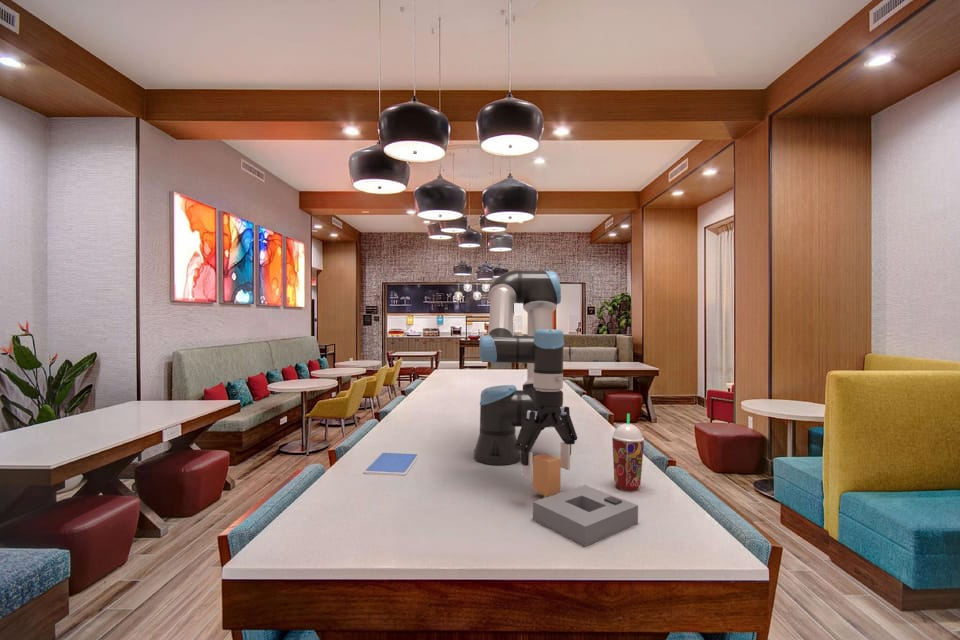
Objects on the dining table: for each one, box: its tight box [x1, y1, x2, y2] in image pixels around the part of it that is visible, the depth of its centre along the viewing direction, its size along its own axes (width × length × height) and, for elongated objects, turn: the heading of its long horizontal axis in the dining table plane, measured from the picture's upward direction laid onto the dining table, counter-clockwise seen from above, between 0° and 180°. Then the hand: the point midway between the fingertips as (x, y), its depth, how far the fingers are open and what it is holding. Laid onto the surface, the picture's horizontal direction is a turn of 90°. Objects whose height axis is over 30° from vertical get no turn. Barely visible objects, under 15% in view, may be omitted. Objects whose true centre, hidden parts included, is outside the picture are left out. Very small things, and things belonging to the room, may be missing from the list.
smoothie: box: [611, 413, 645, 492], centre depth 122 cm, size 8×8×20 cm
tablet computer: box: [363, 452, 420, 476], centre depth 138 cm, size 19×13×1 cm, turn 176°
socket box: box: [532, 484, 639, 548], centre depth 101 cm, size 15×18×4 cm
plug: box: [532, 453, 562, 498], centre depth 115 cm, size 5×4×10 cm
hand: (546, 473), depth 114 cm, fingers open, 13 cm apart
